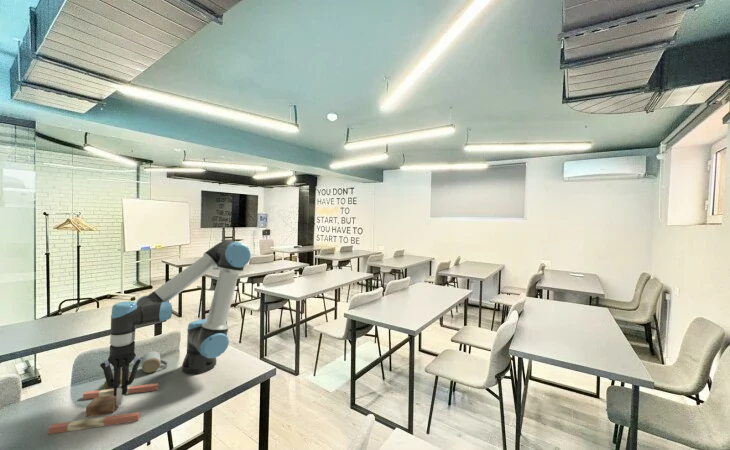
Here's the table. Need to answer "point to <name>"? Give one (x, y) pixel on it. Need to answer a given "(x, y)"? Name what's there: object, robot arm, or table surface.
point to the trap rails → (109, 419)
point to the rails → (95, 421)
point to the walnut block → (101, 406)
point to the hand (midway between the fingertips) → (120, 403)
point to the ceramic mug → (152, 362)
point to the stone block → (113, 377)
